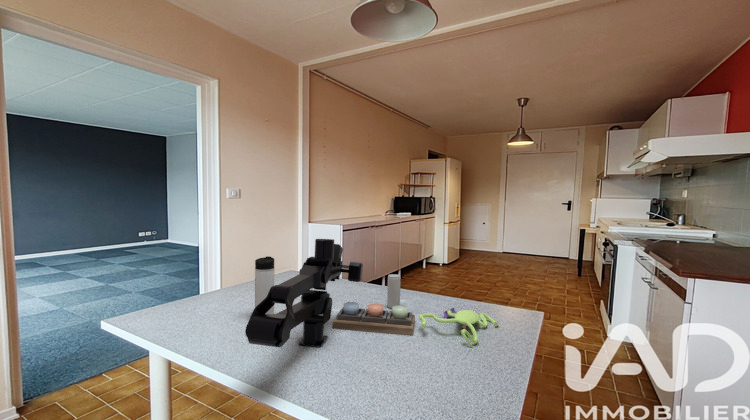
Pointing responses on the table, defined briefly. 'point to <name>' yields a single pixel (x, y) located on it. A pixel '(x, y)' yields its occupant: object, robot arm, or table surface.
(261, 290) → the travel mug
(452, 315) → the figurine
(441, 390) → the table surface
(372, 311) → the terracotta button
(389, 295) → the beverage can
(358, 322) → the button panel
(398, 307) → the sage button
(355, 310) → the blue-grey flat rounded piece
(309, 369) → the table surface
